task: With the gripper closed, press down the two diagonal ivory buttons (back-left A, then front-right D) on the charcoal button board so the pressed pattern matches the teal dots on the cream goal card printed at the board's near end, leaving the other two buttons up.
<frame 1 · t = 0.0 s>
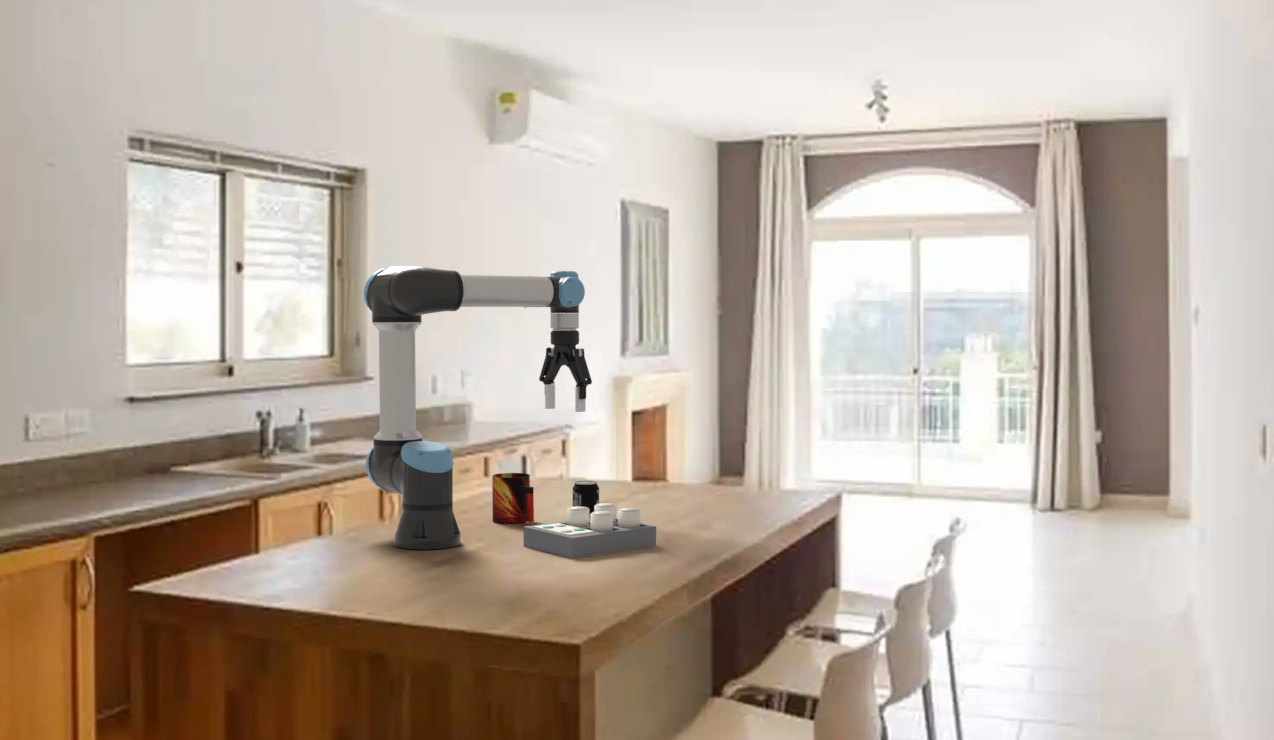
hand: (565, 410, 336), 28 cm above the table, fingers open, 13 cm apart
mug: (518, 522, 328), on the table
beverage can: (585, 531, 315), on the table
button C: (601, 524, 290), point 6 cm above the table, slide at 0.0 cm
board: (589, 545, 294), on the table
button D: (629, 520, 295), point 6 cm above the table, slide at 0.0 cm
button B: (605, 515, 302), point 6 cm above the table, slide at 0.0 cm
button A: (578, 519, 297), point 6 cm above the table, slide at 0.0 cm
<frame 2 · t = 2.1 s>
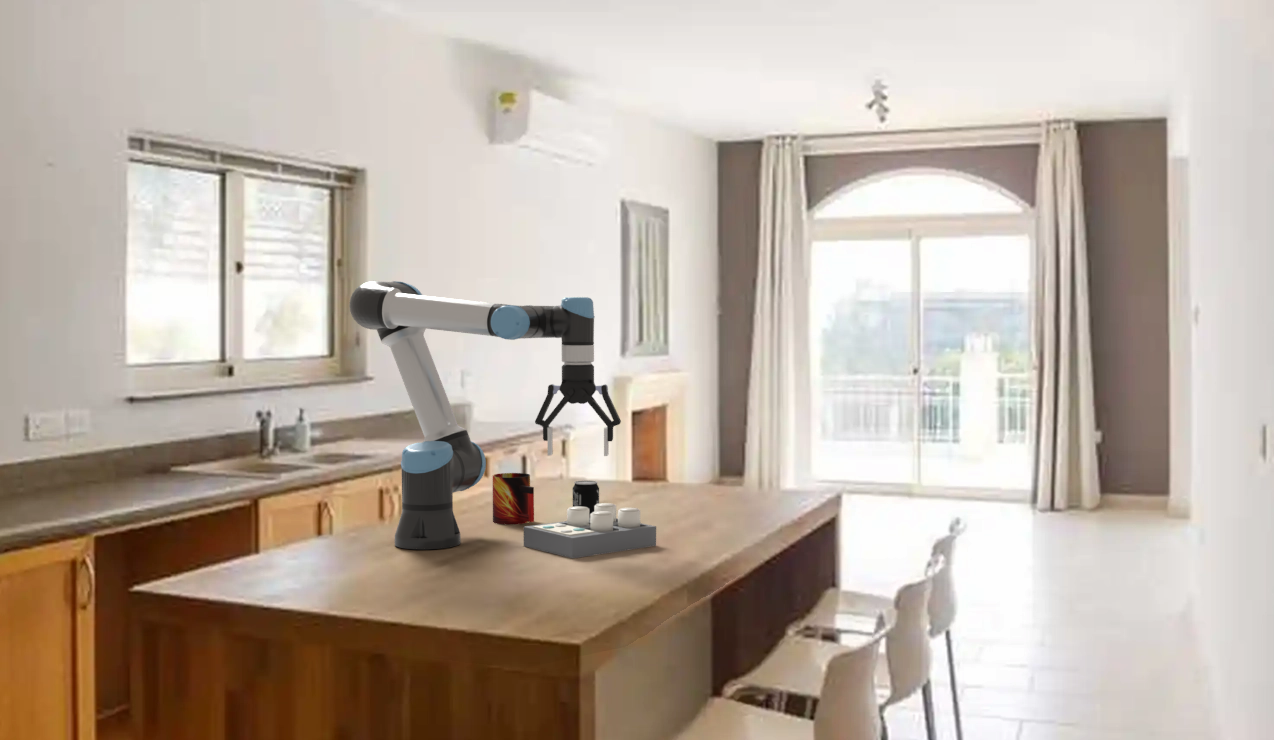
hand: (578, 455, 297), 21 cm above the table, fingers open, 12 cm apart
nothing on the table moved.
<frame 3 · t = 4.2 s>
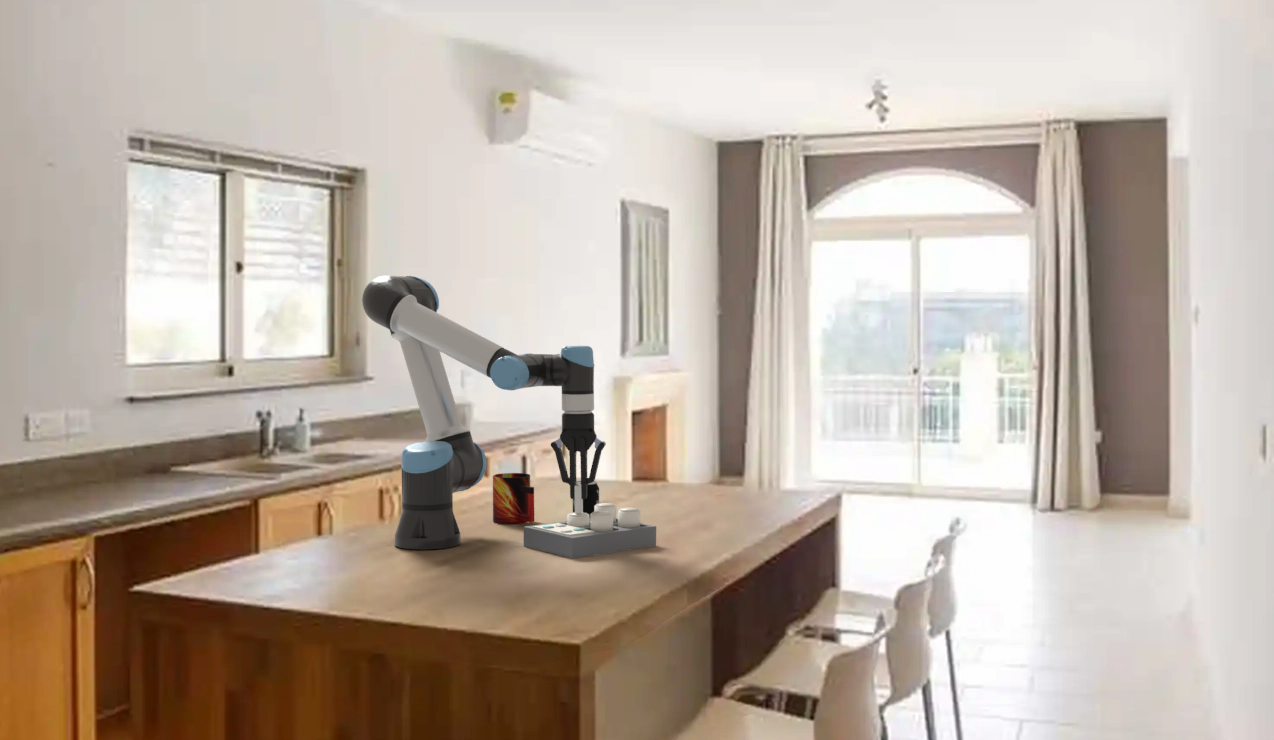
hand: (578, 512, 297), 7 cm above the table, fingers closed
button A: (578, 525, 297), point 4 cm above the table, slide at 1.4 cm, touching gripper
everything else where it was.
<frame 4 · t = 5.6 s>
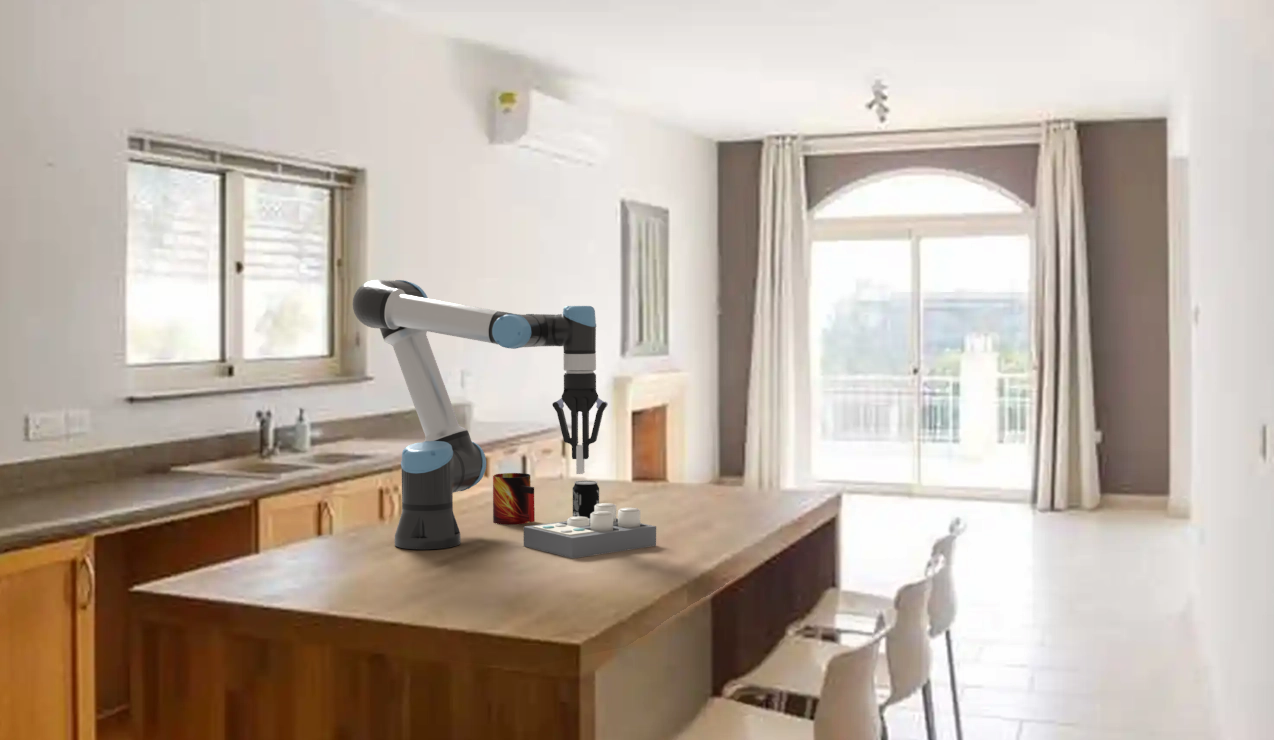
hand: (580, 473, 297), 16 cm above the table, fingers closed
button A: (578, 529, 297), point 3 cm above the table, slide at 2.4 cm
everything else where it was.
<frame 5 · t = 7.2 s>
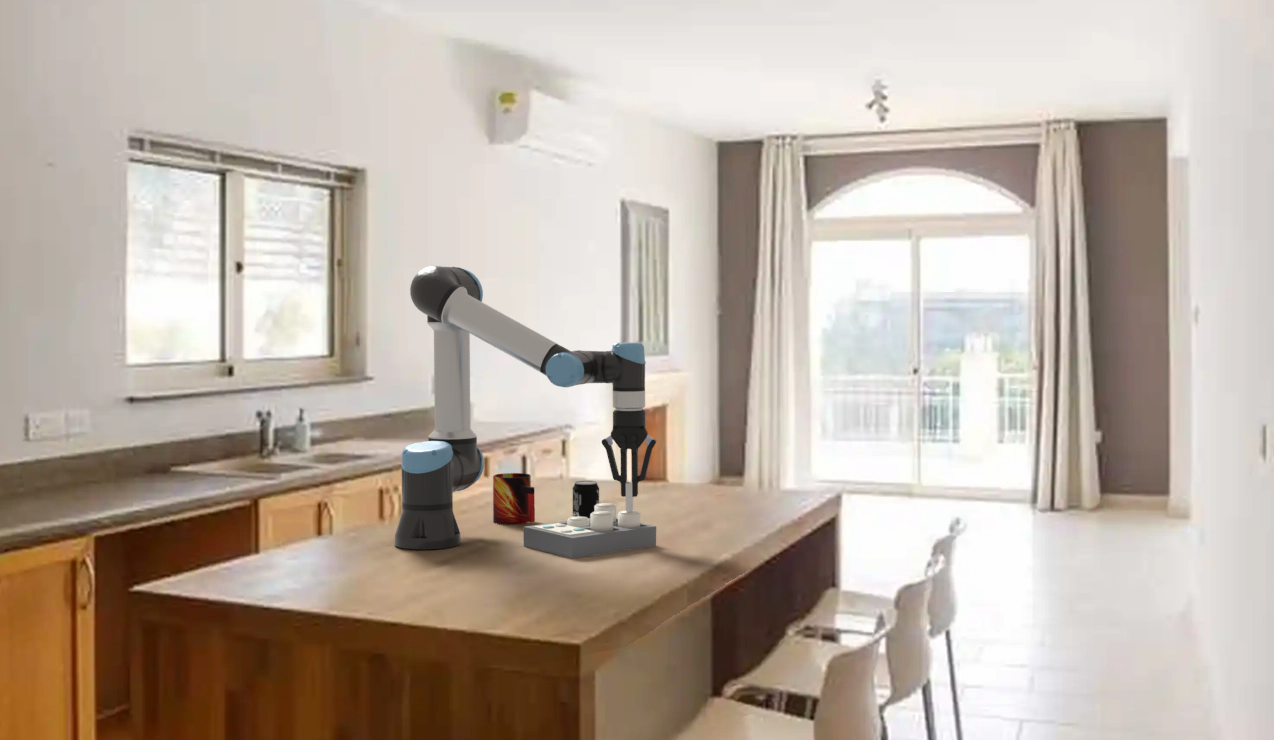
hand: (629, 510, 295), 8 cm above the table, fingers closed
button D: (629, 523, 295), point 5 cm above the table, slide at 0.6 cm, touching gripper
everything else where it was.
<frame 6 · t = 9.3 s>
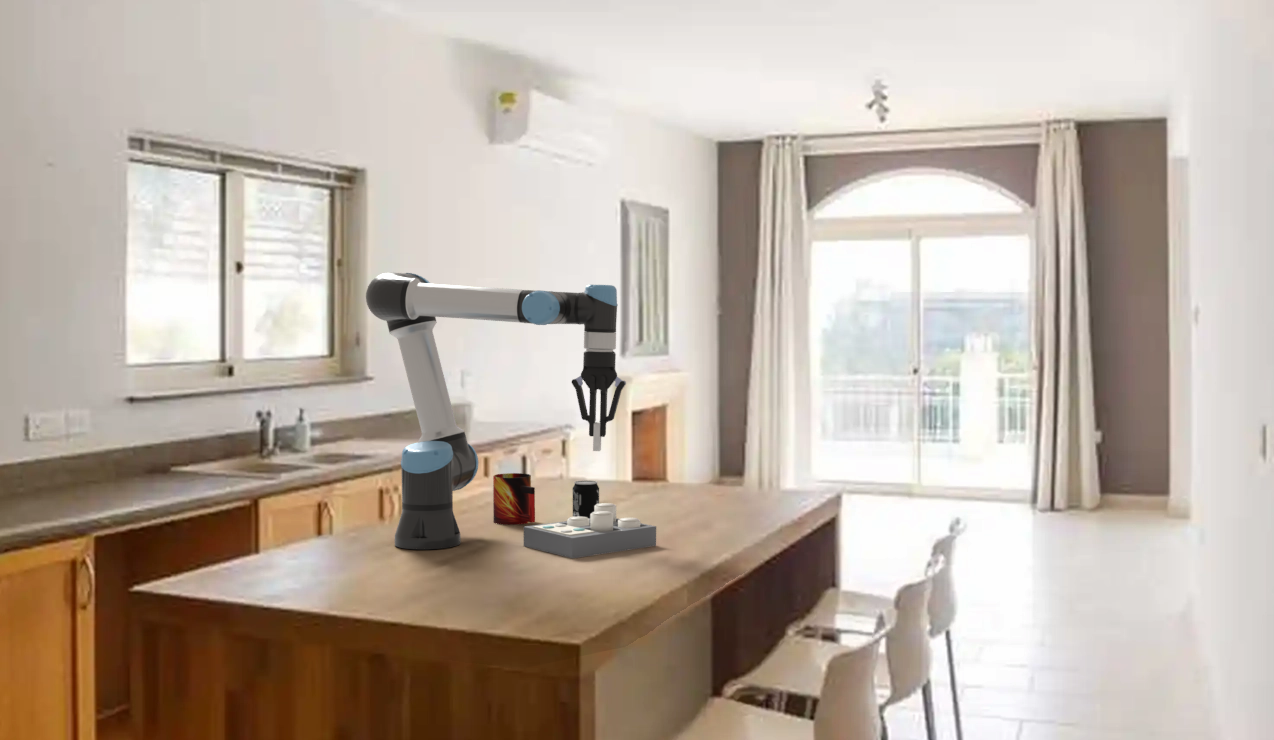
hand: (596, 450, 300), 21 cm above the table, fingers closed
button D: (629, 530, 295), point 3 cm above the table, slide at 2.4 cm
everything else where it was.
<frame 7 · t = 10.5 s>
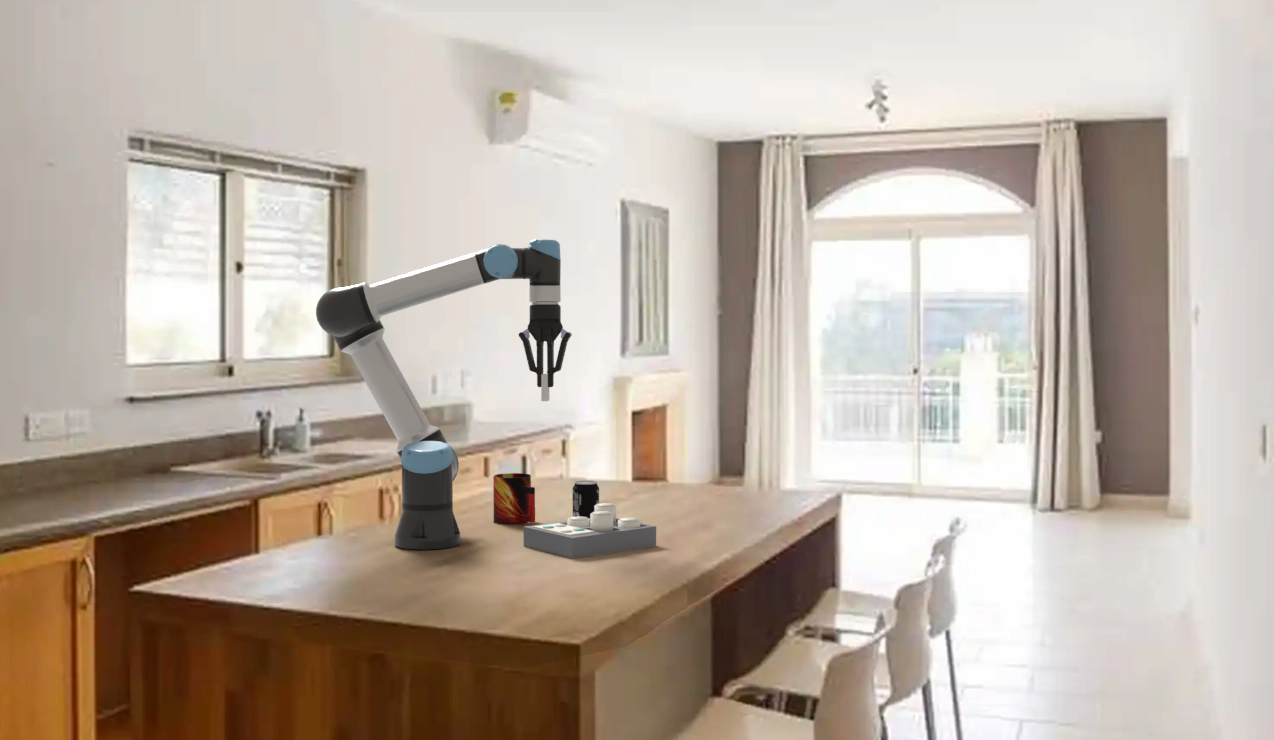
hand: (545, 400, 310), 32 cm above the table, fingers closed
nothing on the table moved.
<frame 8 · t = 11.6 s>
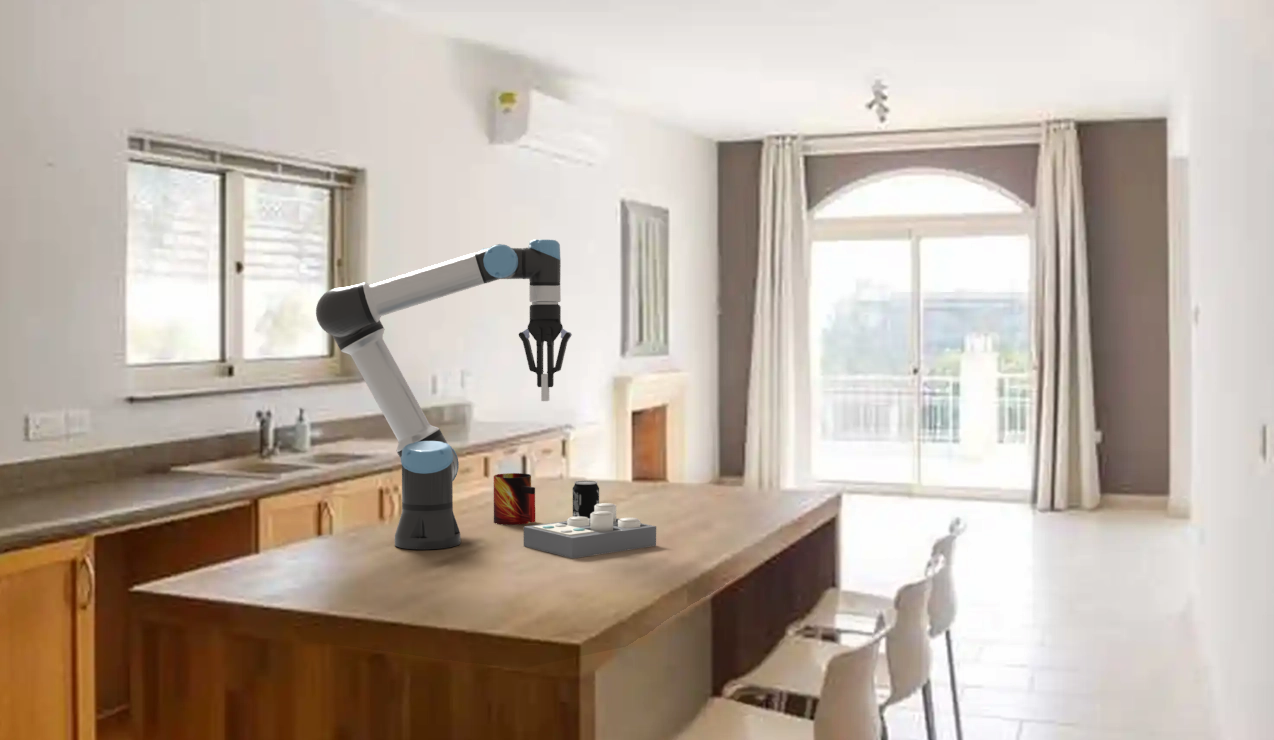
hand: (545, 400, 310), 32 cm above the table, fingers closed
nothing on the table moved.
at the end: button A slide at 2.4 cm; button D slide at 2.4 cm; button B slide at 0.0 cm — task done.
